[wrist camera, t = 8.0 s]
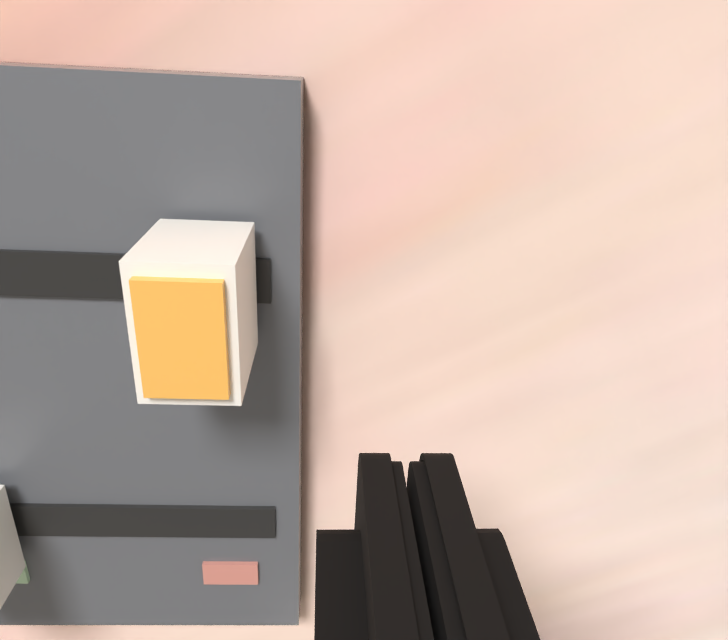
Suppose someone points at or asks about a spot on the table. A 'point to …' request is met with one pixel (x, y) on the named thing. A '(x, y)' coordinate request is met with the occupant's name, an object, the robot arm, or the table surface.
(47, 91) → the breaker panel
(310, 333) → the table surface
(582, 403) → the table surface
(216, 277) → the block
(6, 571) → the block
